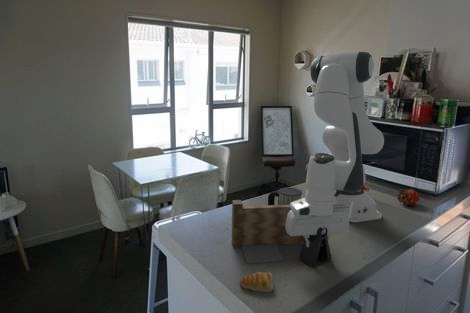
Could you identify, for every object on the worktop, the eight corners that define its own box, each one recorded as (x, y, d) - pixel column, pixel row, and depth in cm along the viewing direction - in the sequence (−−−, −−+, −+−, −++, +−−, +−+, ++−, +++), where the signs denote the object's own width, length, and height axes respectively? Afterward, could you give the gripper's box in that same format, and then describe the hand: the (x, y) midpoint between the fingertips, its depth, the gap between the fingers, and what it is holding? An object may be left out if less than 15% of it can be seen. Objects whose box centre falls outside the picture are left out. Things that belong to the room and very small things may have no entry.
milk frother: (301, 223, 139) (303, 188, 136) (296, 240, 124) (298, 201, 121) (267, 218, 143) (268, 184, 140) (258, 234, 128) (259, 197, 125)
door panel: (309, 238, 125) (312, 197, 122) (314, 245, 120) (317, 202, 117) (231, 242, 121) (232, 200, 117) (233, 249, 116) (234, 205, 113)
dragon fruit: (399, 210, 159) (409, 208, 167) (417, 204, 153) (426, 202, 161) (391, 193, 161) (401, 192, 169) (408, 186, 156) (418, 185, 164)
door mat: (275, 245, 120) (275, 244, 120) (284, 261, 109) (284, 260, 109) (241, 247, 118) (241, 245, 118) (247, 263, 107) (247, 262, 107)
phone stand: (311, 267, 106) (313, 231, 103) (298, 258, 111) (300, 224, 108) (331, 259, 110) (334, 225, 107) (318, 251, 115) (320, 218, 112)
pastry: (240, 293, 93) (240, 280, 92) (239, 279, 100) (239, 267, 99) (274, 293, 93) (274, 281, 92) (271, 279, 100) (272, 267, 99)
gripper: (345, 200, 111) (341, 239, 114) (284, 203, 108) (282, 243, 111) (355, 207, 105) (350, 248, 108) (291, 210, 102) (288, 252, 105)
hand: (315, 246), depth 109 cm, fingers closed on phone stand, 4 cm apart
